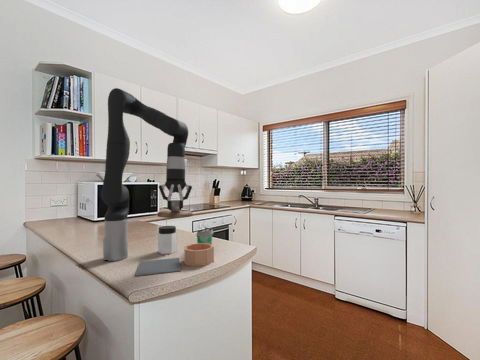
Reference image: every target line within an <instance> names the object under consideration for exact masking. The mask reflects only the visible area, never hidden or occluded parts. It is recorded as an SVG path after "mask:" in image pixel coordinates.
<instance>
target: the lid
mask: <svg viewBox="0 0 480 360" xmlns="http://www.w3.org/2000/svg"><path fill="white" fill-rule="evenodd" d="M156 214H157V215H156V216H157V217H159V218H162V219H163V218H164V219H165V218H166V219H178V218H180V219H181V218H182V219H183V218H188V217H189V218H190V217H192V216H193V211H192V210H191V211H190V210H180V199H172V200H171V210H165V211H158V212H157V213H156Z"/></svg>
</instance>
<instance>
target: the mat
mask: <svg viewBox="0 0 480 360" xmlns="http://www.w3.org/2000/svg"><path fill="white" fill-rule="evenodd" d="M181 269H182V267H181V261H180V257H174V258H163V259H152V260H142V261H139V263H138V267H137V269H136V272H135V276H134V277H144V276H150V275H151V276H152V275H153V276H154V275H158V274H159V275H160V274H168V273H177V272H181V271H182V270H181Z"/></svg>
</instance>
